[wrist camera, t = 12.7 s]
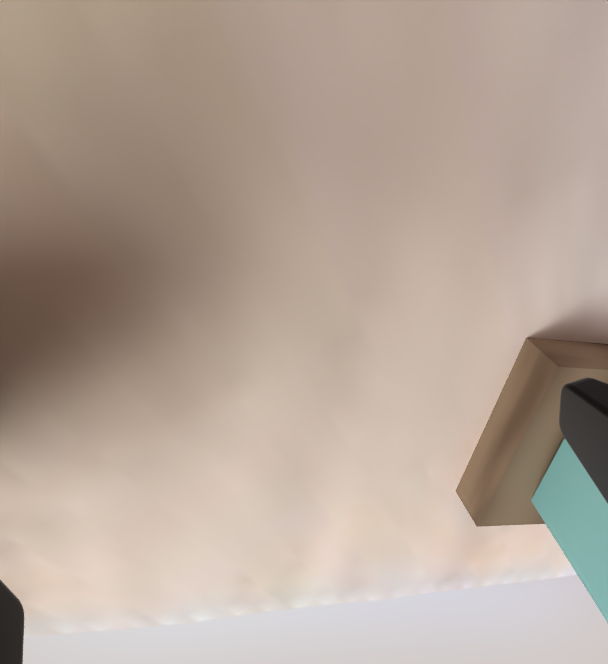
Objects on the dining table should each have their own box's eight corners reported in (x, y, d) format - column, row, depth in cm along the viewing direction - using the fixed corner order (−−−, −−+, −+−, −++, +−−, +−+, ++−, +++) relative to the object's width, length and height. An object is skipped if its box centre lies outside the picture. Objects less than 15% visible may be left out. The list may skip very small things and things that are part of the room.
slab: (451, 483, 30) (476, 526, 28) (520, 332, 26) (558, 366, 23) (592, 481, 33) (627, 520, 31) (677, 345, 28) (726, 377, 26)
